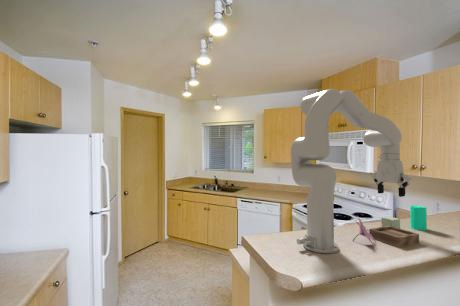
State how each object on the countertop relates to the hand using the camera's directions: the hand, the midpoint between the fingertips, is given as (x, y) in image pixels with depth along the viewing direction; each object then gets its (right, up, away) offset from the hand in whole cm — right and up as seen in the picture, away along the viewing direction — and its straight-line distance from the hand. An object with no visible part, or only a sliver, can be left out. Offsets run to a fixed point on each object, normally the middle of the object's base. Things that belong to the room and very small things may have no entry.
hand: (390, 194), depth 108 cm
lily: (-20, -17, -14) cm, 30 cm away
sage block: (0, -17, 0) cm, 17 cm away
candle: (+15, -17, +3) cm, 23 cm away
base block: (-7, -17, -11) cm, 22 cm away
